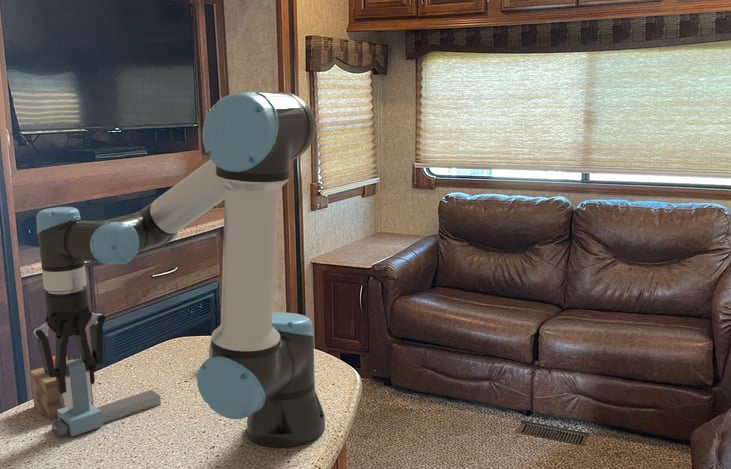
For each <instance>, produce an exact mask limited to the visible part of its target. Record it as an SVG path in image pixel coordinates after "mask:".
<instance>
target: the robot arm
mask: <svg viewBox="0 0 731 469" xmlns="http://www.w3.org/2000/svg"><path fill="white" fill-rule="evenodd" d="M315 120H316V119H315V115H314V113H313V111H312V109H311V107H310V105H309V104H307V102H305V100H304V99H302V98H301V97H300V96H298V95H296V94H294V93H291V92H287V91H286V92H285V91H253V90H250V91H241V92H237V93H231V94H227V95H225V96H223V97H222V98H220V99H219V100H218V101H216V103H215V104H213V105H212V107H210V109H209V110H208V112H207V114H206V116H205V118H204V121H203V122H204V123H203V126H202V142H203V146H204V150H205V152H206V154H208V155H209V160H207V161H205V163H203V164H202V165H200V166H199V167H198V168H196V169H195V170H193V171H192V172H191V173H190V174H189V175H187V176H186V177H184V178H183V179H181V180H180V181H179V182H178V183H175V185H173V186H172V187H170V189H168V190H166V191H165V192H164V193H163V194H161V195H160V196H158V198H156V199H155V200H153V201H152V202H151V203H149V204H148V205H146V206H145V207H144V208H142V209H141V210H139V211H138V212H133V213H129V214H126V215H122V216H118V217H113V218H110V219H105V220H97V221H95V220H82V217H81V214H80V210H79V209H78V208H76V207H73V206H59V207H58V206H57V207H50V208H45V209H42V210H40V211H38V213H37V215H36V235H37V239H38V241H37V242H38V249H39V256H40V258H39V259H40V266H41V272H42V280H43V281H42V282H43V288H44V289H43V290H45V293H44V301H45V308H46V309H45V310H46V317H45V319H44V323H43V324H42V325H40V326H39V327H36V326H34V327H33V328H32V330H31V333H32V334H33V335H34V336H35V338H36V340H37V343H38V349H39V353H40V356H41V362H42V368H43V367H44V372H45V374H47V375H48V376H49V377H51V378H53V377H56V382H57V389H58V391H59V392H60V393H63V398H64V405H65V406H66V407H67V408H69V409H72V408H73V400H72V391H71V382H70V376H68V375H67V374H66V358H67V359H68V356H67V355H68V344H69V340H70V339H69V338H70V337H72V336H74V337H75V340H76V343H77V347H78V350H79V354H80V358H81V361H83V362H84V363H85V370H86V379H87V389H88V399H89V403H91V402H92V394H93V392H92V393H91V385H94V384H95V382H96V380H95V379H96V378H95V370H96V369H97V367H96V366H98V365H102V364H103V362H104V352H103V351H104V344H103V343H104V338H103V336H104V334H103V333H104V331H103V328H104V324H105V321H106V316H105V315H103V314H102V313H100V312H96V313H94V312H93V311H92V310H91V309H90V302H89V301H90V300H89V294H88V293H89V292H88V288H87V283H88V282H87V274H86V265H85V262H88V263H90V262H91V263H97V264H104V265H110V266H113V265H126V264H127V263H128V264H129V263H130V262H131V261H132V260H133V258H134V257H136V256H137V254H138V253H140V252H144V251H147V250H150V249H153V248H158V247H162V246H164V245H166V244H168V243H170V242H172V241H173V240H174V239H176V238H177V235H178V233H179V231H181V230H182V229H184V228H185V227H186V226H188V225H190V224H191V223H192V222H194V221H195V220H197V219H198V218H200V217H201V216H202V215H204V214H206V213H207V212H209V211H210V210H211V209H213V208H214V207H216V206H217V205H218V204H220V203H222V202H223V201H224V211H223V212H224V214H223V244H222V245H223V246H222V247H223V248H222V273H221V274H222V277H221V278H222V280H221V309H220V310H221V312H220V314H221V315H220V325H219V326H218V327H217V328H215V329H214V330H213V331H212V332H211V337H210V339H211V340H210V342H211V357H210V358H207V359H205V361H203V363H202V364H201V365H200V367H199V369H198V371H197V376H196V383H197V384H196V385H197V389H198V391H199V395H200V396H201V398H202V400H203V401H204V403H206V404H208V407H209V408H210V409H211V410H212V411H213V412H215V413H216V414H217V415H219V416H221V417H224V418H227V419H231V420H241V419H245V418H247V420H246V433H247V436H248V437H249V439H250V440H251V441H253V442H254V443H256V444H258V445H261V446H265V447H270V448H291V447H297V446H302V445H305V444H308V443H311V442H313V441H314V440H316V439H318V438H320V436H321V435H323V433H324V431H325V429H326V416H325V413H324V410H323V407H322V404H321V402H320V399H319V397H318V394H317V390H316V384H315V382H316V381H315V376H316V375H315V348H314V346H315V345H314V343H315V342H314V337H315V334H314V328H313V322H312V319H310V318H309V317H308V316H306V315H303V314H299V313H293V312H274V311H273V310H274V295H275V294H274V293H275V289H274V288H275V276H276V275H275V274H276V273H275V272H276V271H275V270H276V257H277V256H276V254H277V253H276V251H277V236H278V235H277V233H278V231H277V230H278V213H279V193H280V189H281V188H282V187H283V186H284V185H285V184H286V183H288V181H289V178H290V168H291V167H290V166H291V165H290V162H292V161H293V160H295V159H297V158H299V157H300V156H302V155H304V154H305V152H307V151H308V149H310V146H311V145H312V144H313V142H314V139H315V135H316V129H317V128H316V121H315ZM89 322H90V323H91V349H90V345H89V342H88V335H87V330H86V328H87V326H88V324H89ZM49 329H50V330H51V331H52V332H53V333H54V335H55V354H54V356H55V368H54V363H53V359H52V356H53V354H52V350H51V346H50V341H49V338H48V336H49Z"/></svg>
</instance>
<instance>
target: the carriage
mask: <svg viewBox="0 0 731 469" xmlns="http://www.w3.org/2000/svg"><path fill="white" fill-rule="evenodd" d="M71 360H72V359H71ZM68 361H69V360H68ZM66 374H67V375H68V376H70V382H71V391H72V400H73V408H72V409H69V408H67V407H64V408H61V409H58V410H57V414H58V418H57V420H60V419H62V420H64V421H65V422H66V423H67V424H68V425H69V429H70V436H71V437H74V436H78V435H81V434H83V433H86V432H89V431H93V430H95V429H96V430H97V429H98V428H100V427H103V426H104V424H102V412H101V410H99V409H98V408H97V407H98V406H97V407H96V406H95V404H94V403H93V404H94V405H93V404H91V403H89V399H88V389H87V379H86V370H85V363H84V362H83V361H82V359H80V358H76V359H74V360H72V361H69V362H66Z"/></svg>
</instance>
